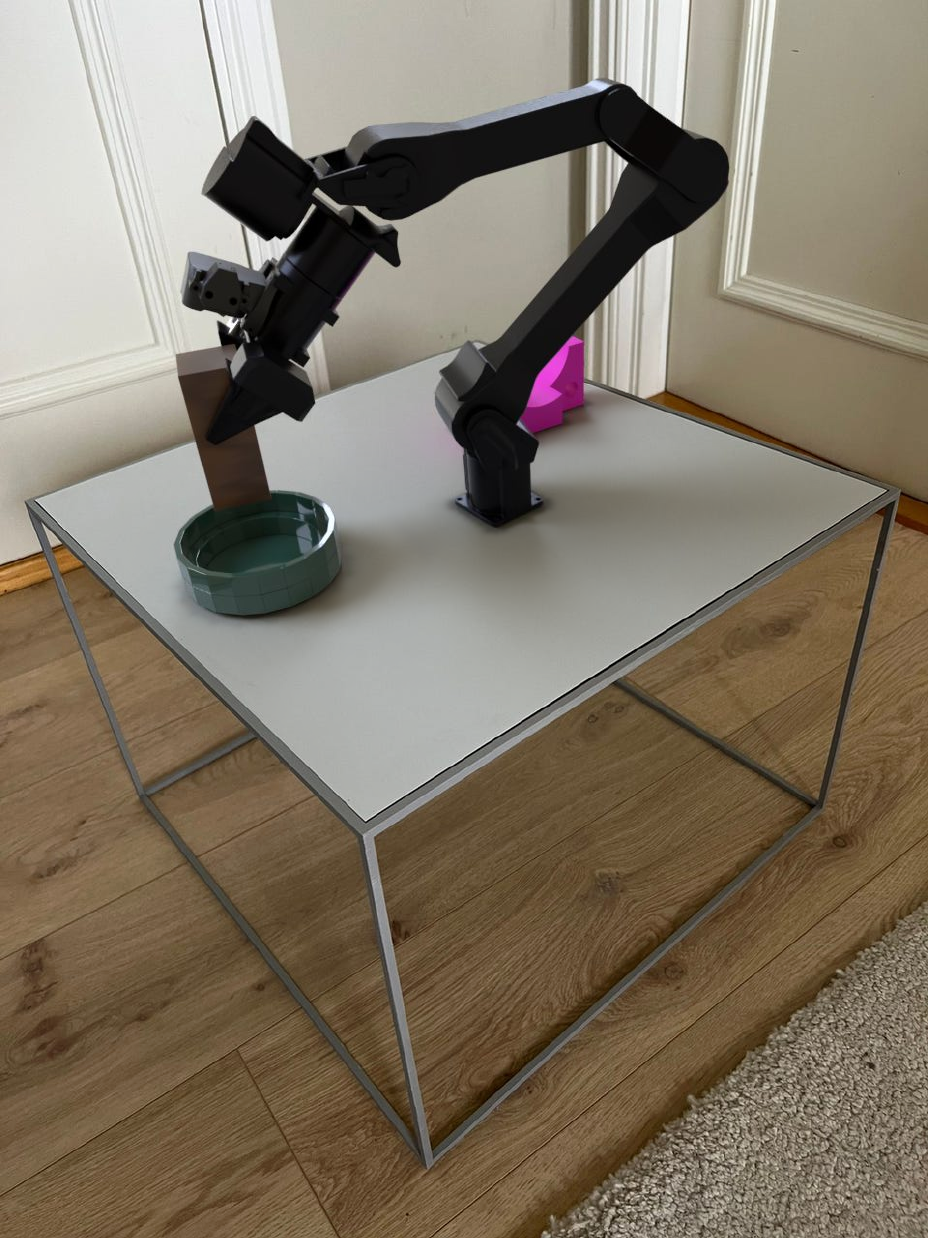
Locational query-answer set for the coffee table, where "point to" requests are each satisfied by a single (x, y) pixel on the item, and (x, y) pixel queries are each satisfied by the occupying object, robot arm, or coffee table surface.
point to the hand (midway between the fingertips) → (207, 428)
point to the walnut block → (237, 459)
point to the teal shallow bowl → (259, 554)
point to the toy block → (557, 388)
